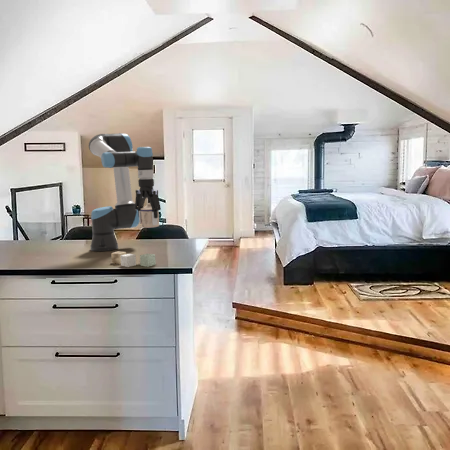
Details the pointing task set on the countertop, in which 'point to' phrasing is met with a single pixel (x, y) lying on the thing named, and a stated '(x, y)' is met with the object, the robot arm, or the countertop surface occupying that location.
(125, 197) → the robot arm
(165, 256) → the countertop surface
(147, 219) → the teacup with lid
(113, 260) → the maple cube
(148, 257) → the sage painted cube
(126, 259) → the white painted cube
